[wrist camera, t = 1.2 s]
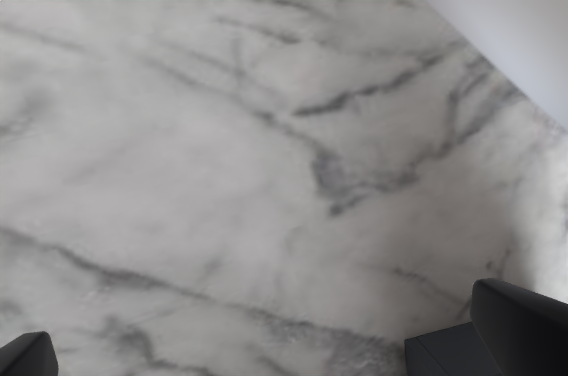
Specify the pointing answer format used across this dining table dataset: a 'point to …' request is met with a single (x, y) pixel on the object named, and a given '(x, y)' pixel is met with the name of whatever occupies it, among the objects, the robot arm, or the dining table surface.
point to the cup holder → (450, 354)
